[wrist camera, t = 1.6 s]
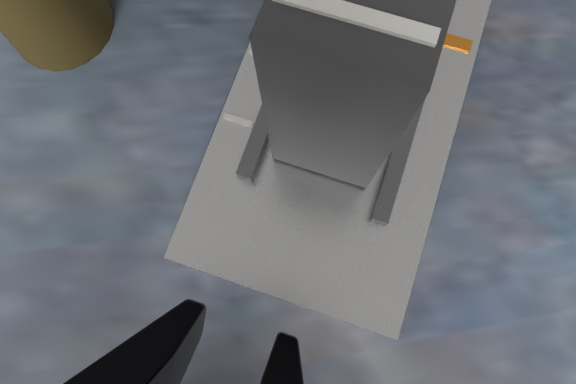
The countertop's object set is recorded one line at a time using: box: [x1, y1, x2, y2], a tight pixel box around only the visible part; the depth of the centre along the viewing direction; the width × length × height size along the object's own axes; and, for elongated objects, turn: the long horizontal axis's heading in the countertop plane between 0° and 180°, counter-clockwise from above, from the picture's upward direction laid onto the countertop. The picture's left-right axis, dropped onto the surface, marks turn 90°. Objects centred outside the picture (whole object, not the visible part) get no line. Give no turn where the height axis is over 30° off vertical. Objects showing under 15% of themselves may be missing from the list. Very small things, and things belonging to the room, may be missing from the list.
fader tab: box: [249, 0, 456, 188], centre depth 17 cm, size 3×5×11 cm, turn 72°
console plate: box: [164, 0, 491, 340], centre depth 23 cm, size 20×12×2 cm, turn 162°
